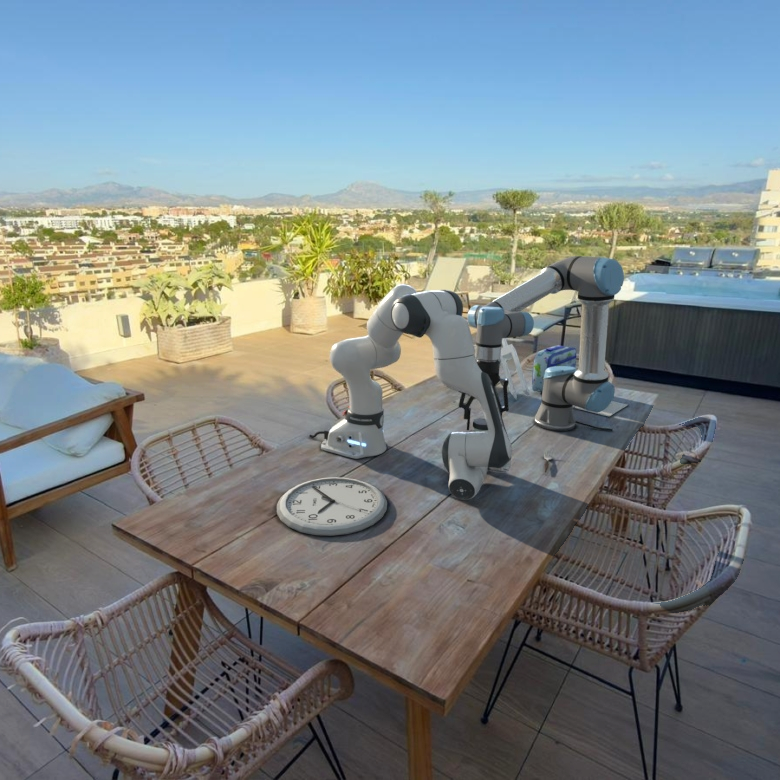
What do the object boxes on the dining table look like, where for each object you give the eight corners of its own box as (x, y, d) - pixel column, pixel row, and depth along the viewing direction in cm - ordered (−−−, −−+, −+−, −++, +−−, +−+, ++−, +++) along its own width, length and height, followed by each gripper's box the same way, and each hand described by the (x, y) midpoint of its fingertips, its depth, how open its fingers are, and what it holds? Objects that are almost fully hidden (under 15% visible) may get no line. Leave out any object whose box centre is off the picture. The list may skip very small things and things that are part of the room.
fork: (540, 473, 163) (541, 467, 163) (544, 453, 178) (545, 448, 177) (549, 474, 162) (550, 468, 162) (552, 454, 177) (553, 449, 176)
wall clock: (392, 527, 129) (268, 531, 127) (391, 533, 130) (269, 537, 127) (383, 473, 158) (282, 475, 155) (383, 478, 158) (282, 480, 156)
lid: (485, 422, 167) (486, 417, 167) (496, 429, 162) (496, 423, 161) (469, 424, 165) (469, 419, 164) (479, 431, 160) (479, 426, 159)
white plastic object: (461, 429, 252) (437, 405, 227) (444, 352, 274) (420, 323, 250) (535, 404, 240) (518, 377, 215) (510, 326, 262) (492, 293, 237)
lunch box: (548, 398, 236) (553, 353, 229) (527, 393, 243) (531, 349, 237) (575, 387, 253) (581, 344, 247) (555, 382, 260) (560, 341, 254)
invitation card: (608, 416, 214) (573, 407, 224) (608, 416, 214) (573, 408, 224) (628, 404, 229) (594, 396, 238) (628, 405, 229) (594, 397, 238)
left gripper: (509, 462, 150) (515, 444, 162) (440, 451, 156) (450, 434, 169) (507, 482, 152) (513, 462, 164) (439, 470, 158) (449, 452, 170)
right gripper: (522, 358, 159) (514, 428, 165) (453, 354, 162) (449, 423, 169) (523, 364, 151) (515, 437, 158) (452, 359, 155) (447, 431, 162)
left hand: (481, 448), depth 166 cm, fingers closed on jar, 5 cm apart
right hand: (481, 430), depth 163 cm, fingers open, 8 cm apart
